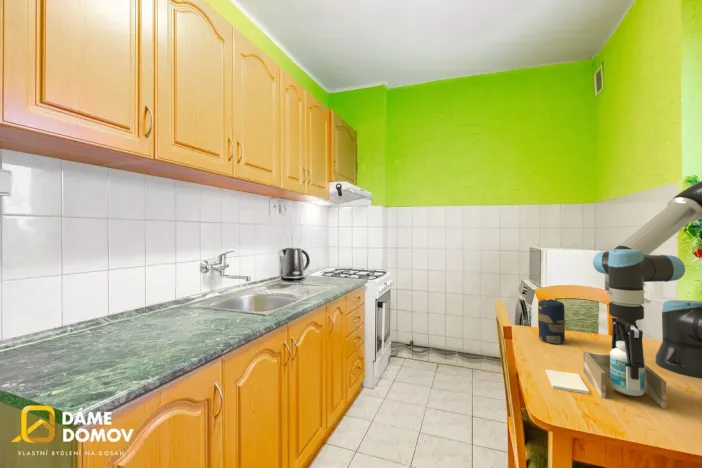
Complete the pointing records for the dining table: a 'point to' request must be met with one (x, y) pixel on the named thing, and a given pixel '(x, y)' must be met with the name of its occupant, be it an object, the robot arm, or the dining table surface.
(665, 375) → the dining table surface
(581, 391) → the tile
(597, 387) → the beige three-walled frame
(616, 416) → the dining table surface
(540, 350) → the dining table surface
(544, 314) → the canister
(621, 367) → the pill bottle
